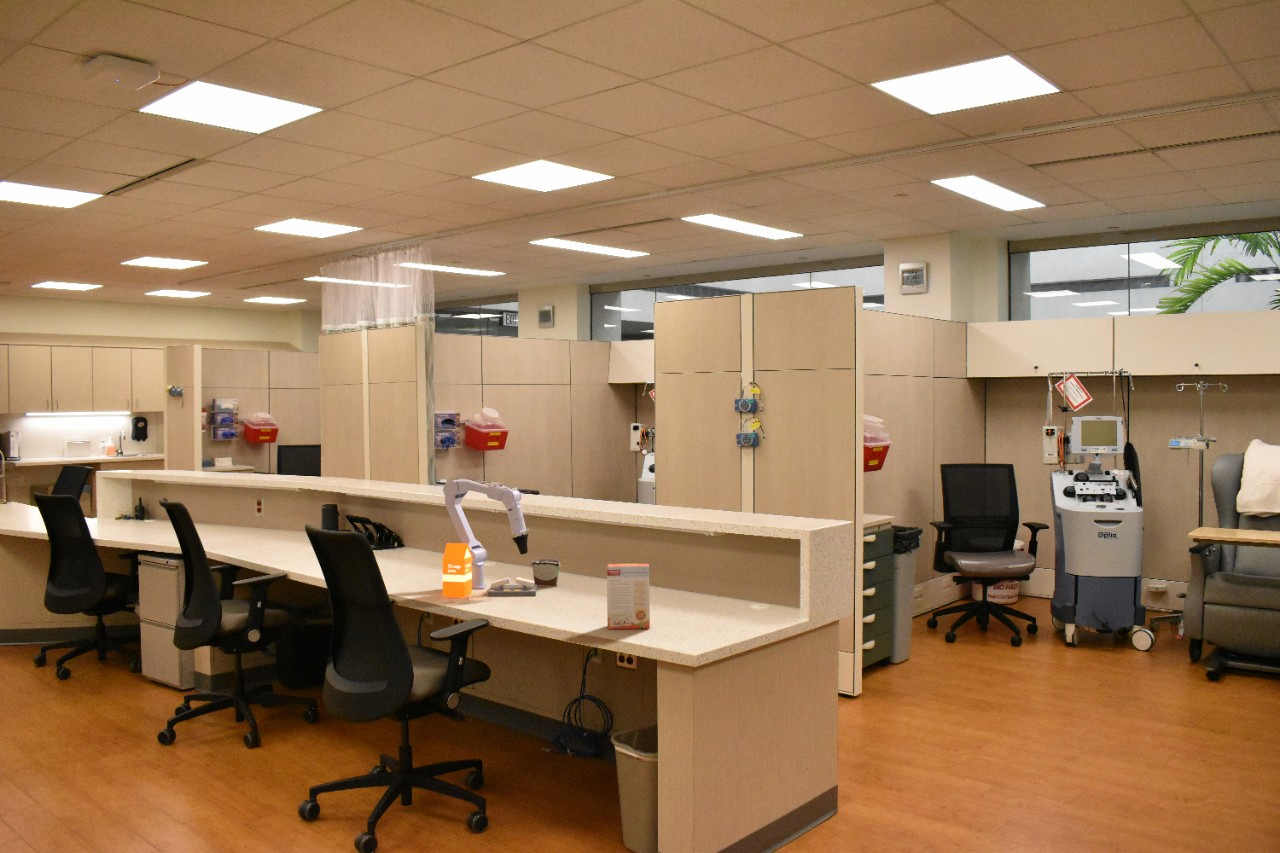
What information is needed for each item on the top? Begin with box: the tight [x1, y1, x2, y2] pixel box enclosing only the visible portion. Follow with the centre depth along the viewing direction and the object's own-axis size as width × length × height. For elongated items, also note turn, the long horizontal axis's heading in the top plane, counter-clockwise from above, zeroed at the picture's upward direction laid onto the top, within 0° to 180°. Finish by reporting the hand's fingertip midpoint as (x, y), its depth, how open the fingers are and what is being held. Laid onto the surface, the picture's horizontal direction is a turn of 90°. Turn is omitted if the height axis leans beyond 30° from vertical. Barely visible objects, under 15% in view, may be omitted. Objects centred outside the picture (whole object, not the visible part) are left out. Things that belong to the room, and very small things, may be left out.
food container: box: [530, 558, 561, 587], centre depth 388 cm, size 12×6×10 cm, turn 76°
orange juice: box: [442, 542, 473, 599], centre depth 367 cm, size 8×9×20 cm
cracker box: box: [606, 563, 651, 630], centre depth 316 cm, size 14×6×21 cm, turn 92°
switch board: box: [487, 584, 538, 597], centre depth 373 cm, size 18×14×3 cm
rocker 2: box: [515, 576, 535, 587], centre depth 373 cm, size 7×5×2 cm
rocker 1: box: [490, 576, 512, 588], centre depth 372 cm, size 7×5×2 cm
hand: (524, 553), depth 373 cm, fingers open, 7 cm apart
